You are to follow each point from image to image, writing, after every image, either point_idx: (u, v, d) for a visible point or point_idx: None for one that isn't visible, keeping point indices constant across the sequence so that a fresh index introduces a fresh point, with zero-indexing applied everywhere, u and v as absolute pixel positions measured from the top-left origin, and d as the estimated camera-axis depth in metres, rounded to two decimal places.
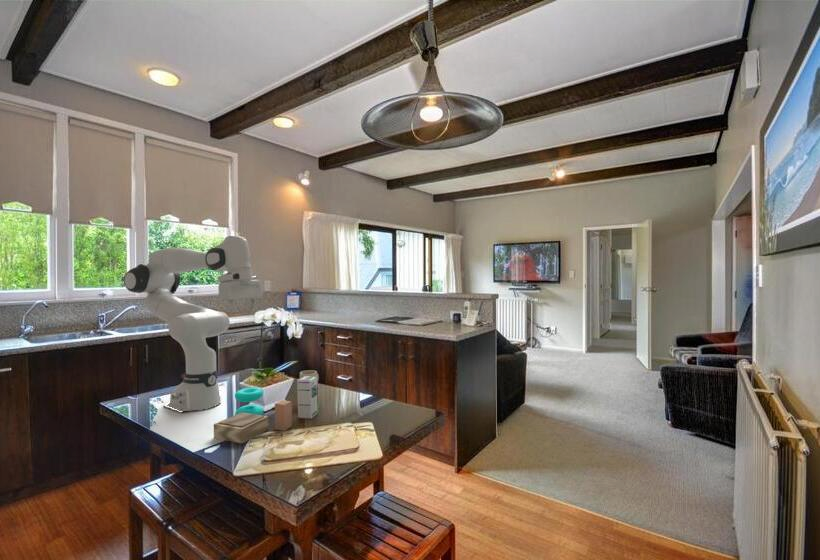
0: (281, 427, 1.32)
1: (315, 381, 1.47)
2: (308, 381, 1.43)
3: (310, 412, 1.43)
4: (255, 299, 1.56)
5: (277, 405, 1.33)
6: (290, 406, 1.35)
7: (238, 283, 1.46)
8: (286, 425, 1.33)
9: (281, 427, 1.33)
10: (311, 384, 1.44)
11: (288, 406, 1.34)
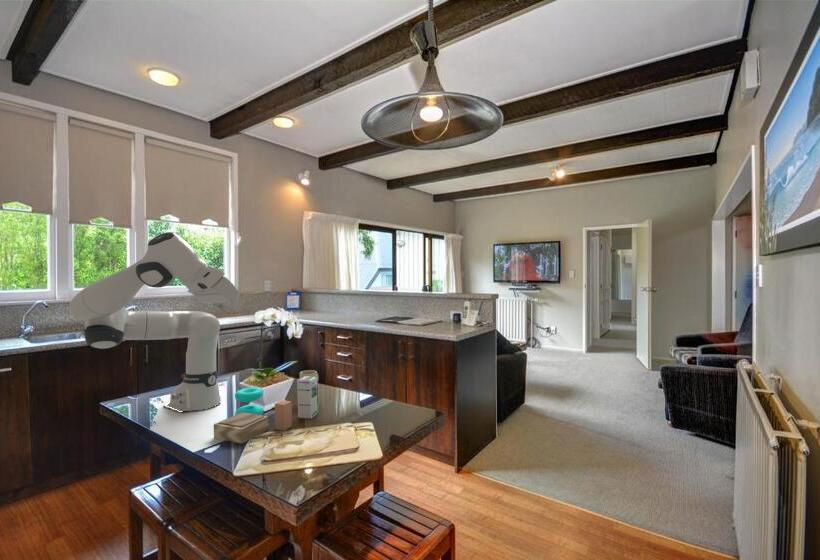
0: (281, 427, 1.32)
1: (315, 381, 1.47)
2: (308, 381, 1.43)
3: (310, 412, 1.43)
4: None
5: (277, 405, 1.33)
6: (290, 406, 1.35)
7: None
8: (286, 425, 1.33)
9: (281, 427, 1.33)
10: (311, 384, 1.44)
11: (288, 406, 1.34)
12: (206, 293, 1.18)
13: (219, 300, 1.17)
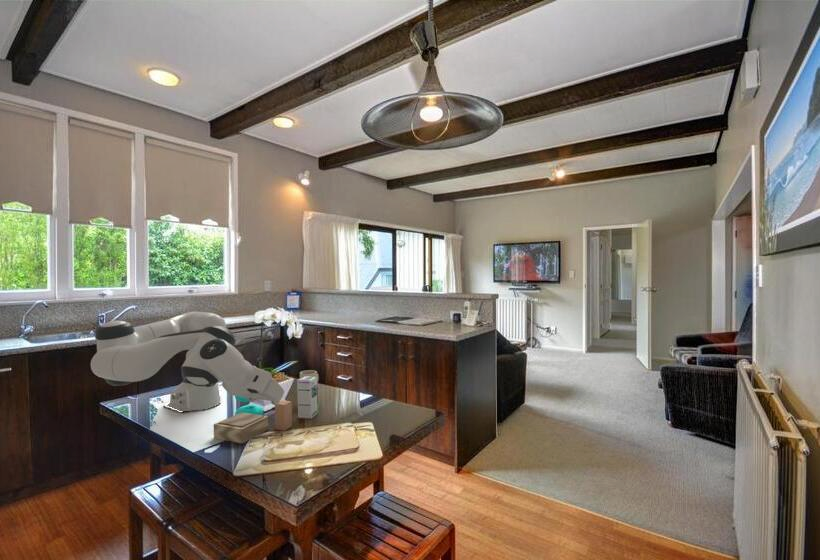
0: (281, 427, 1.32)
1: (315, 381, 1.47)
2: (308, 381, 1.43)
3: (310, 412, 1.43)
4: None
5: (277, 405, 1.33)
6: (290, 406, 1.35)
7: None
8: (286, 425, 1.33)
9: (281, 427, 1.33)
10: (311, 384, 1.44)
11: (288, 406, 1.34)
12: None
13: (261, 398, 1.19)
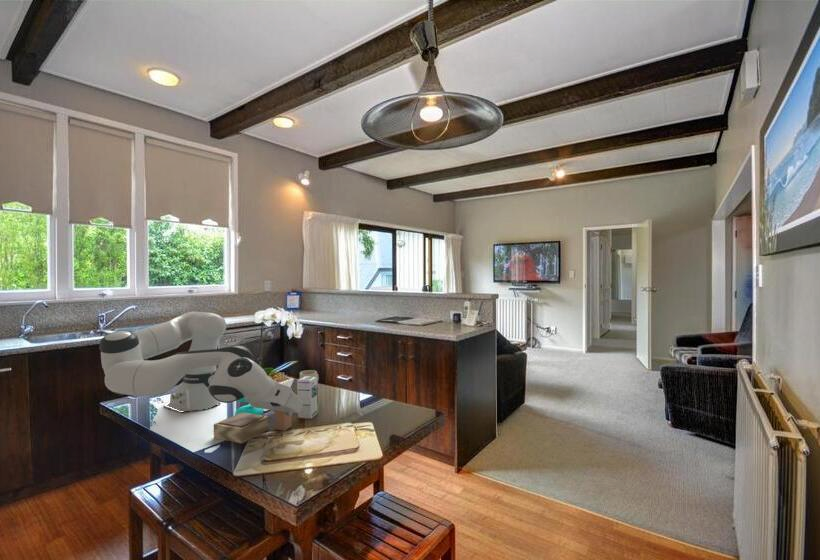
0: (281, 427, 1.33)
1: (315, 381, 1.47)
2: (308, 381, 1.43)
3: (310, 412, 1.43)
4: None
5: None
6: None
7: None
8: (286, 425, 1.33)
9: (281, 427, 1.33)
10: (311, 384, 1.44)
11: None
12: None
13: (281, 410, 1.29)
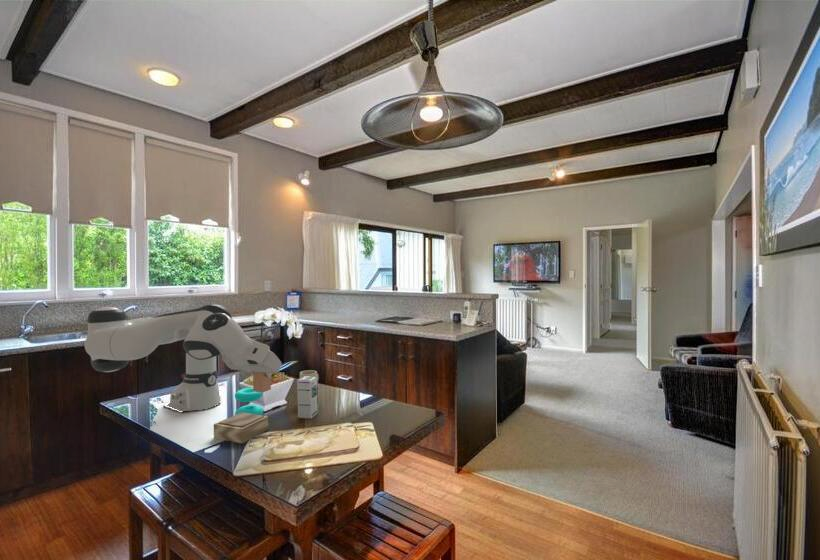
0: (259, 389, 1.30)
1: (315, 381, 1.47)
2: (308, 381, 1.43)
3: (310, 412, 1.43)
4: None
5: None
6: None
7: None
8: (265, 387, 1.31)
9: (259, 389, 1.30)
10: (311, 384, 1.44)
11: None
12: None
13: (260, 370, 1.26)
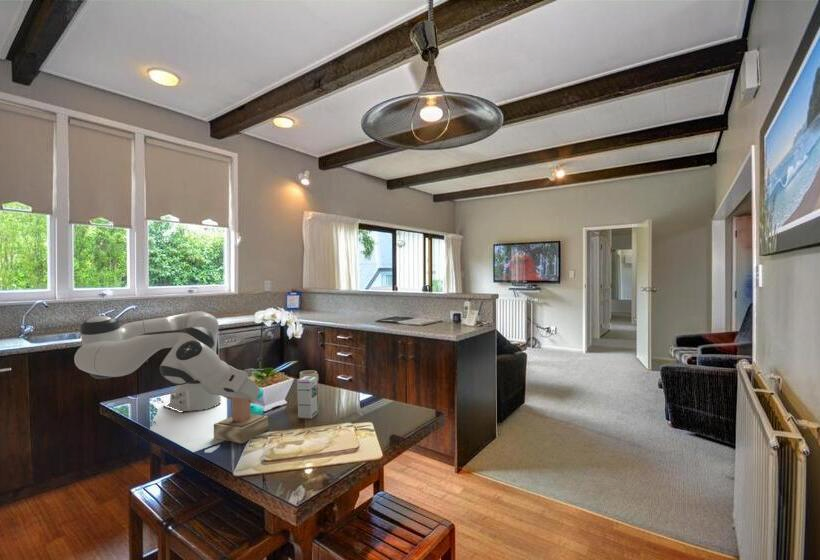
0: (238, 418, 1.28)
1: (315, 381, 1.47)
2: (308, 381, 1.43)
3: (310, 412, 1.43)
4: None
5: None
6: None
7: None
8: (244, 416, 1.28)
9: (238, 418, 1.28)
10: (311, 384, 1.44)
11: None
12: None
13: (238, 396, 1.24)
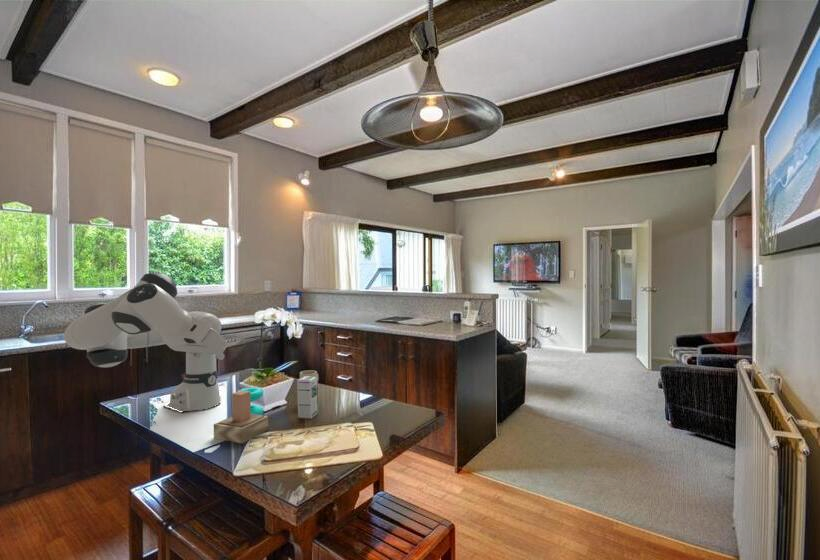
0: (238, 418, 1.28)
1: (315, 381, 1.47)
2: (308, 381, 1.43)
3: (310, 412, 1.43)
4: None
5: (234, 395, 1.28)
6: (248, 396, 1.30)
7: None
8: (244, 416, 1.28)
9: (238, 418, 1.28)
10: (311, 384, 1.44)
11: (246, 396, 1.29)
12: (186, 343, 1.11)
13: (202, 351, 1.11)
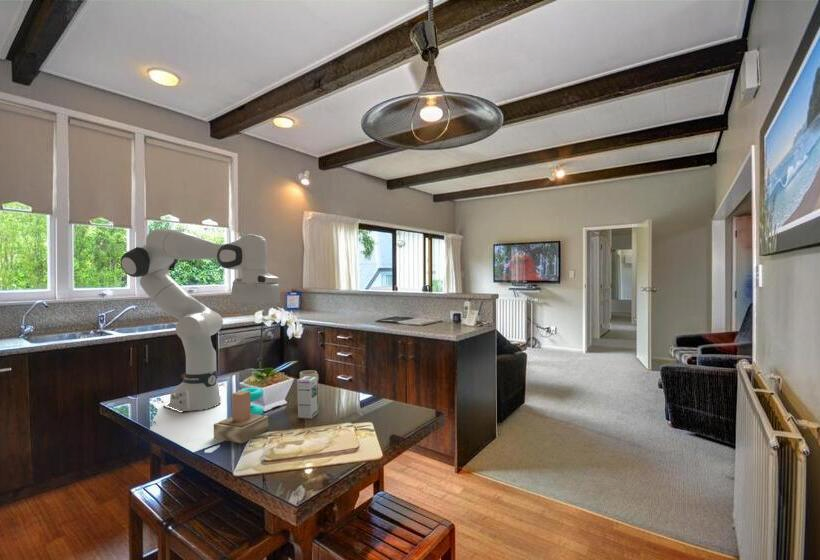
0: (238, 418, 1.28)
1: (315, 381, 1.47)
2: (308, 381, 1.43)
3: (310, 412, 1.43)
4: None
5: (234, 395, 1.28)
6: (248, 396, 1.30)
7: None
8: (244, 416, 1.28)
9: (238, 418, 1.28)
10: (311, 384, 1.44)
11: (246, 396, 1.29)
12: (250, 291, 1.40)
13: (258, 299, 1.38)
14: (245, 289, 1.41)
